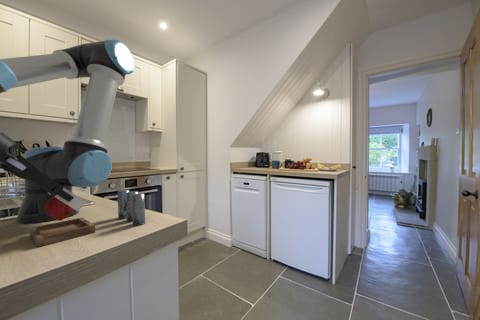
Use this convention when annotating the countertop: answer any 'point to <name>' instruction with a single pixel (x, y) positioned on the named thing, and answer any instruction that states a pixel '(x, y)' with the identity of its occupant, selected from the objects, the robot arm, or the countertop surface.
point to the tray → (61, 231)
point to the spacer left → (122, 204)
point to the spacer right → (138, 209)
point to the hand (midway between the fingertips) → (78, 204)
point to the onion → (57, 209)
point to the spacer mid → (129, 205)
